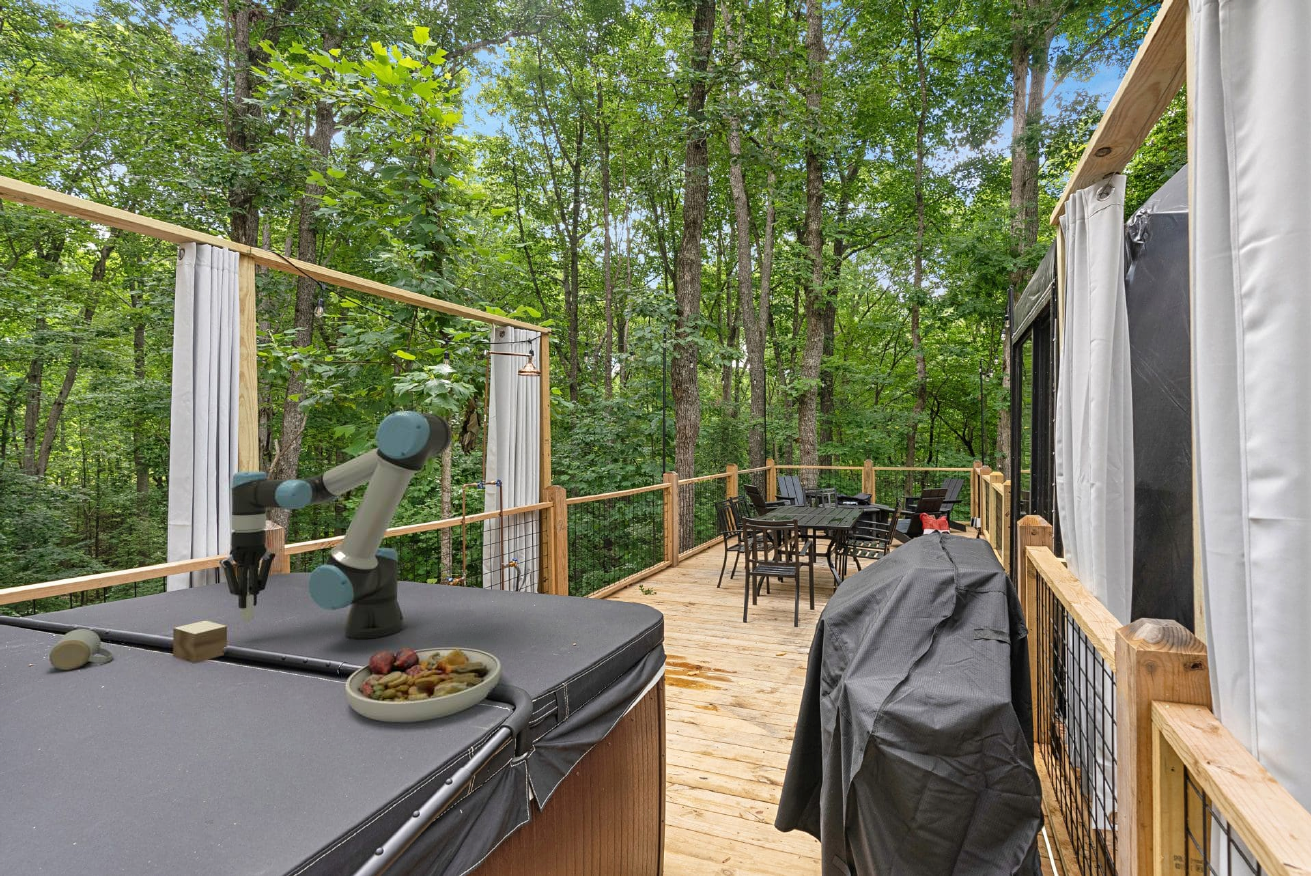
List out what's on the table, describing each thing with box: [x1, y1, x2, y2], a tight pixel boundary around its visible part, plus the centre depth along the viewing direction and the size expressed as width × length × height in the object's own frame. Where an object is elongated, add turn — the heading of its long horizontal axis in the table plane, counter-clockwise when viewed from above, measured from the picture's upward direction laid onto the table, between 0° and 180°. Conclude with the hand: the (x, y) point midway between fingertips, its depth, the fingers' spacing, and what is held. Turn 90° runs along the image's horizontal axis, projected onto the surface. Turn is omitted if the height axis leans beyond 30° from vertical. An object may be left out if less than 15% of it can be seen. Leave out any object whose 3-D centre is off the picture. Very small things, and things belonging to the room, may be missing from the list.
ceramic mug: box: [49, 628, 115, 671], centre depth 140 cm, size 11×8×8 cm
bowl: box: [344, 647, 502, 723], centre depth 124 cm, size 30×30×8 cm
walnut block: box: [172, 620, 228, 664], centre depth 147 cm, size 10×7×7 cm
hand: (247, 619), depth 157 cm, fingers closed
